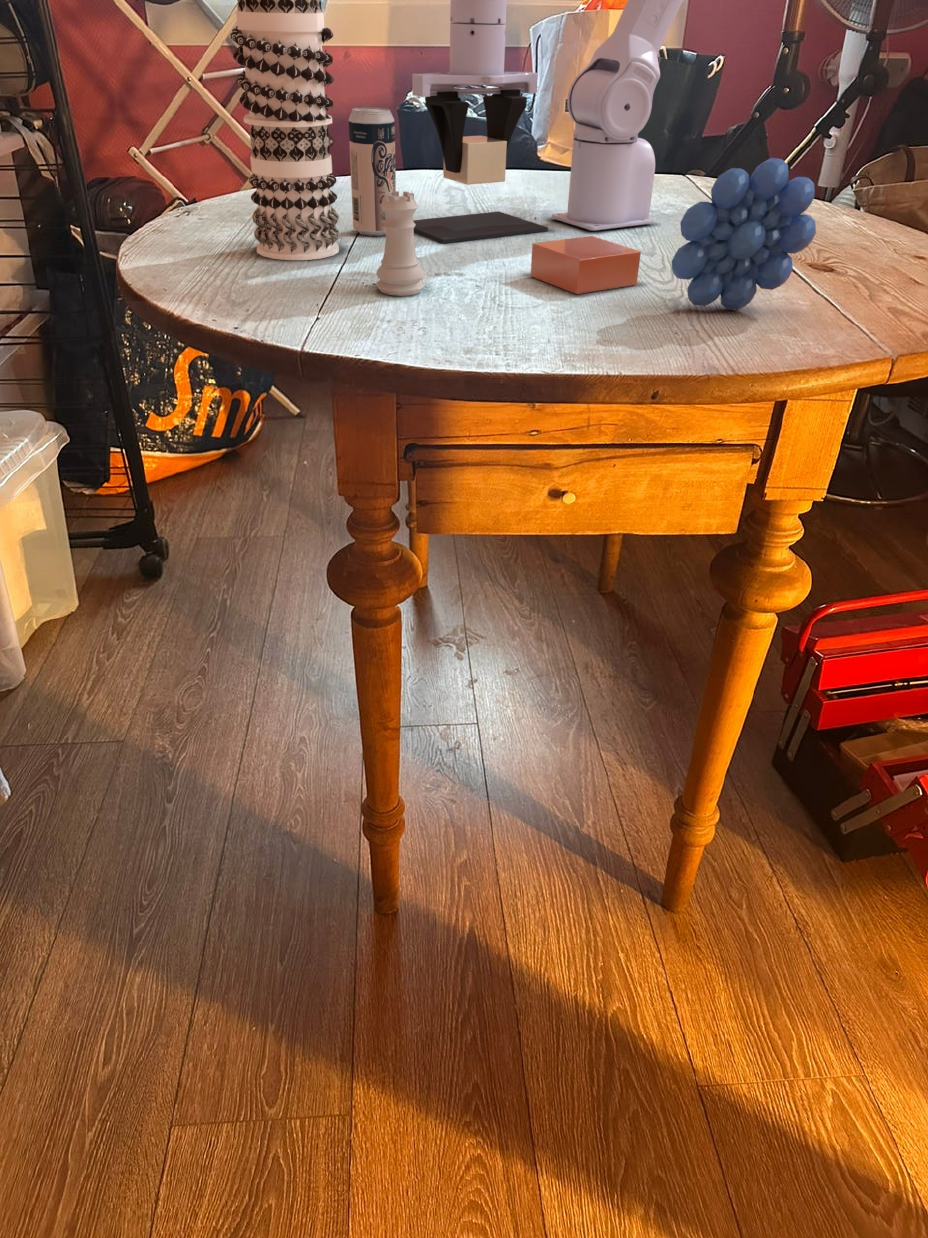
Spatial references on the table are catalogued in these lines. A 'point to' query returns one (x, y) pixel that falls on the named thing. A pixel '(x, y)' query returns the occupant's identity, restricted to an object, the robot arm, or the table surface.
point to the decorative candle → (288, 126)
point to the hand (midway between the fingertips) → (474, 169)
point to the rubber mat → (474, 227)
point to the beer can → (371, 167)
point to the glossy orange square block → (585, 264)
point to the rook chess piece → (399, 248)
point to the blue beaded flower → (745, 234)
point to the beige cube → (480, 161)
